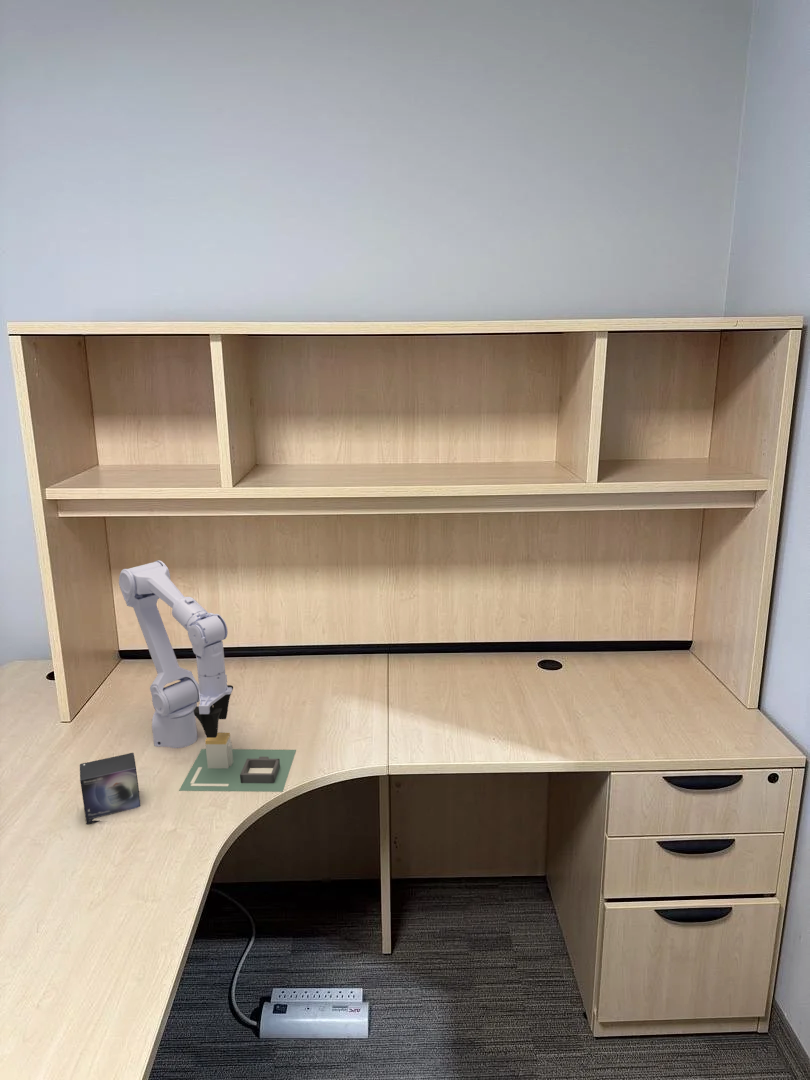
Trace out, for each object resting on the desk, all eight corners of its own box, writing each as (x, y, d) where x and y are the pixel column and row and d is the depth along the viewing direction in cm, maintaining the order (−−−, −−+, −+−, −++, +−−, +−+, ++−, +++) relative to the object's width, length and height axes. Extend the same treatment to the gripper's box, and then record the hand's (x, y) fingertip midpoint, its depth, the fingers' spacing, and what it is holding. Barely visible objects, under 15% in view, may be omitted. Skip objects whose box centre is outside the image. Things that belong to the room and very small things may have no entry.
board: (179, 795, 156) (177, 782, 155) (202, 753, 171) (200, 741, 170) (283, 796, 155) (282, 783, 154) (296, 754, 170) (295, 741, 169)
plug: (207, 768, 163) (205, 741, 161) (212, 759, 166) (209, 732, 165) (230, 768, 163) (227, 741, 161) (234, 759, 166) (232, 732, 164)
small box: (85, 826, 146) (78, 780, 144) (85, 807, 152) (78, 763, 149) (142, 812, 150) (136, 767, 148) (139, 794, 156) (133, 751, 153)
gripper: (220, 686, 151) (226, 745, 155) (238, 656, 165) (243, 711, 169) (186, 686, 152) (192, 745, 155) (207, 656, 166) (212, 710, 169)
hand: (216, 727), depth 162 cm, fingers open, 7 cm apart
